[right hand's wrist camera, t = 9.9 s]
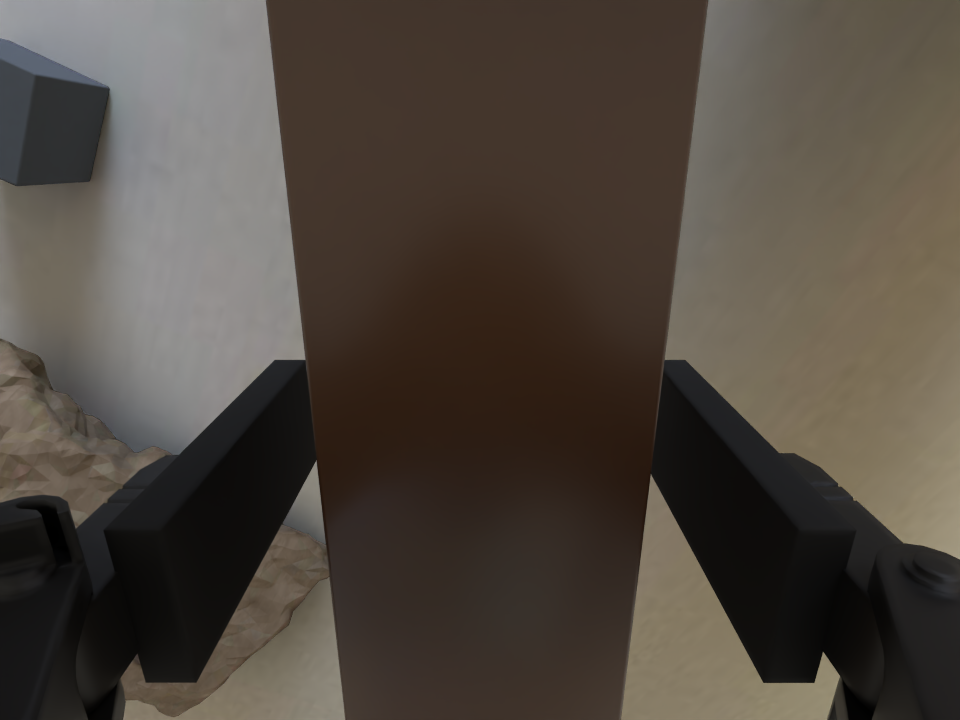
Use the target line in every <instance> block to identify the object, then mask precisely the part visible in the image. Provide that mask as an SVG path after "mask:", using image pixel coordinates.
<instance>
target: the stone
mask: <svg viewBox="0 0 960 720" xmlns="http://www.w3.org/2000/svg"><path fill="white" fill-rule="evenodd" d="M166 455H172V454H171V453H169V452H167V451H164V450H162V449H160V448H158V447H153V446H152V447H150V448H148V449H145V450H143V451H141V452H138V453H134V452H133V451H132V450H131V449H130V448H129V447H128V446H127V445H126V444H125V443H122V442H120V441H118V440H115V437H114V435H113V434H112V433H111V432H110V430H109V429H108V428H107V427H106V425H105V424H104V423H103V422H101V421H100V420H99V419H97V418H95V417H93V416H89V415H85V414H84V413H83V411H82V409H81V407H80V406H79V405H77V404H76V403H75V402H74V401H73V400H72V399H71V398H70V397H69V396H68V395H67V394H63V393H59V392H56V391H54V390H53V389H52V387H51V384H50V382H49V380H48V377H47V374H46V371H45V366H44V363H43V361H42V360H41V358H40V357H39V356H37V355H35V354H33V353H30V352H28V351H25V350H23V349H20V348H18V347H16V346H15V345H13V344H12V343H10V342H7V341H5V340H3V339H0V503H1V502H5V501H8V500H12V499H16V498H20V497H26V496H35V495H51V496H59V497H61V498H62V499H64V500H66V501H67V502H68V504H69V507H70V511H71V514H72V517H73V521H74V524H75V528H77V527H78V526H79V525H80V524H81V523H83V522H84V521H85V520H86V519H87V518H88V517H89V516H90V515H91V514H92V513H93V512H94V511H96V510H97V509H98V508H99V507H100V506H101V505H102V504H103V503H107V502H108V499H109V498H110V497H111V496H112V495H113V494H114V493H115V492H116V491H117V490H118V489H122V488H123V485H124V484H125V483H126V482H127V481H128V480H129V479H130V478H131V477H132V476H134V475H135V474H136V473H137V472H138V471H139V470H140V469H142V468H144V467H145V466H147V465H149V464H151V463H153V462H155V461H156V460H158V459H160V458H162V457H164V456H166ZM328 577H329V567H328V558H327V549H326V545H325V544H323V543H321V542H319V541H317V540H315V539H313V538H312V537H311V536H310V535H309V534H305V533H302V532H300V531H298V530H295V529H293V528H290V527H288V526H285V525H281V527H280V529H279V531H278V532H277V534H276V536H275V538H274V540H273V542H272V544H271V545H270V547H269V549H268V551H267V553H266V555H265V557H264V558H263V560H262V562H261V564H260V566H259V568H258V570H257V571H256V573H255V575H254V577H253V579H252V581H251V583H250V584H249V586H248V588H247V590H246V592H245V594H244V595H243V597H242V599H241V601H240V603H239V605H238V607H237V608H236V610H235V612H234V614H233V616H232V618H231V620H230V621H229V623H228V625H227V627H226V629H225V631H224V633H223V634H222V636H221V638H220V640H219V642H218V644H217V646H216V647H215V649H214V651H213V653H212V655H211V657H210V659H209V660H208V662H207V664H206V666H205V668H204V670H203V672H202V673H201V675H200V677H199V679H198V681H197V683H146V682H145V679H144V675H143V671H142V668H141V664H140V661H139V657H138V653H137V655H136V656H135V658H134V659H133V661H132V662H131V664H130V665H129V667H128V668H127V669H126V671H125V672H124V674H123V675H122V677H121V682H122V685H123V689H124V694H125V700H138V701H141V702H144V703H147V704H151V705H154V706H155V707H156V708H157V709H158V711H159V712H161V713H163V714H165V715H167V716H172V717H175V716H179V715H180V714H182V713H183V712H185V711H186V710H188V709H189V708H191V707H193V706H195V705H197V704H199V703H201V702H202V701H203V700H204V699H206V698H207V697H208V696H209V695H211V694H212V693H213V692H214V691H215V690H217V689H218V688H219V687H220V686H221V685H222V684H224V683H225V681H226V680H227V679H228V677H229V676H230V675H231V674H232V673H233V672H234V671H235V670H236V669H237V668H238V667H240V666H241V665H242V664H243V663H244V662H245V661H246V660H247V659H248V658H249V657H250V656H251V655H253V654H254V653H255V652H257V651H258V650H259V649H261V648H262V647H263V646H265V645H266V644H267V643H268V642H269V641H270V640H271V639H272V638H273V637H274V636H276V635H277V634H278V633H279V632H280V631H282V630H283V629H284V628H285V627H287V626H288V625H289V623H290V620H291V617H292V613H293V611H294V610H295V609H296V608H297V607H298V605H299V604H300V603H301V602H302V601H303V600H304V599H305V597H306V596H307V594H308V593H309V592H310V591H311V589H312V588H313V587H314V586H315V585H316V584H317V583H318V582H319V581H320V580H323V579H327V578H328Z"/></svg>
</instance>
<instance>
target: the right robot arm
mask: <svg viewBox="0 0 960 720" xmlns="http://www.w3.org/2000/svg"><path fill="white" fill-rule="evenodd" d="M316 460H317V458H316V449H315V440H314V431H313V422H312V413H311V404H310V395H309V386H308V377H307V368H306V360H274V361H273V362H272V363H271V364H270V365H269V366H268V367H267V368H266V369H265V370H264V371H263V372H262V373H261V374H260V375H259V376H258V377H257V378H256V379H255V380H254V381H253V382H252V383H251V384H250V385H249V386H248V387H247V388H246V389H245V390H244V391H243V392H242V393H241V394H240V395H239V396H238V397H237V398H236V399H235V400H234V401H233V402H232V403H231V404H230V405H229V406H228V407H227V408H226V409H225V410H224V411H223V412H222V413H221V414H220V415H219V416H218V417H217V418H216V419H215V420H214V421H213V422H212V423H211V424H210V425H209V426H208V427H207V428H206V429H205V430H204V431H203V432H202V433H201V434H200V435H199V436H198V437H197V438H196V439H195V440H194V441H193V442H192V443H191V444H190V445H189V446H188V447H187V448H186V449H185V450H184V451H183V452H182V453H181V454H180V455H166V456H164V457H162V458H160V459H158V460H156V461H155V462H153V463H151V464H149V465H147V466H145V467H144V468H142V469H140V470H139V471H138V472H137V473H136V474H135V475H134V476H132V477H131V478H130V479H129V480H128V481H127V482H126V483H125V484H124V485H123V488H122V489H118V490H117V491H116V492H115V493H114V494H113V495H112V496H111V497H110V498H109V499H108V502H107V503H103V504H102V505H101V506H100V507H99V508H98V509H97V510H96V511H94V512H93V513H92V514H91V515H90V516H89V517H88V518H87V519H86V520H85V521H84V522H83V523H81V524H80V525H79V526H78V527H77V528H75V524H74V521H73V517H72V514H71V511H70V507H69V504H68V502H67V501H66V500H64V499H62V498H61V497H59V496H51V495H35V496H26V497H20V498H16V499H12V500H8V501H5V502H1V503H0V720H123V717H124V710H125V703H126V701H125V694H124V689H123V685H122V682H121V677H122V675H123V674H124V672H125V671H126V669H127V668H128V667H129V665H130V664H131V662H132V661H133V659H134V658H135V656H136V655H137V653H138V657H139V661H140V664H141V668H142V671H143V675H144V679H145V682H146V683H197V681H198V679H199V677H200V675H201V673H202V672H203V670H204V668H205V666H206V664H207V662H208V660H209V659H210V657H211V655H212V653H213V651H214V649H215V647H216V646H217V644H218V642H219V640H220V638H221V636H222V634H223V633H224V631H225V629H226V627H227V625H228V623H229V621H230V620H231V618H232V616H233V614H234V612H235V610H236V608H237V607H238V605H239V603H240V601H241V599H242V597H243V595H244V594H245V592H246V590H247V588H248V586H249V584H250V583H251V581H252V579H253V577H254V575H255V573H256V571H257V570H258V568H259V566H260V564H261V562H262V560H263V558H264V557H265V555H266V553H267V551H268V549H269V547H270V545H271V544H272V542H273V540H274V538H275V536H276V534H277V532H278V531H279V529H280V527H281V525H282V523H283V521H284V519H285V518H286V516H287V514H288V512H289V510H290V508H291V506H292V505H293V503H294V501H295V499H296V497H297V495H298V493H299V492H300V490H301V488H302V486H303V484H304V482H305V480H306V479H307V477H308V475H309V473H310V471H311V469H312V467H313V466H314V464H315V462H316ZM651 475H652V477H653V479H654V480H655V482H656V484H657V486H658V488H659V490H660V492H661V493H662V495H663V497H664V499H665V501H666V503H667V505H668V506H669V508H670V510H671V512H672V514H673V516H674V518H675V519H676V521H677V523H678V525H679V527H680V529H681V531H682V532H683V534H684V536H685V538H686V540H687V542H688V544H689V545H690V547H691V549H692V551H693V553H694V555H695V557H696V558H697V560H698V562H699V564H700V566H701V568H702V569H703V571H704V573H705V575H706V577H707V579H708V581H709V582H710V584H711V586H712V588H713V590H714V592H715V594H716V595H717V597H718V599H719V601H720V603H721V605H722V607H723V608H724V610H725V612H726V614H727V616H728V618H729V620H730V621H731V623H732V625H733V627H734V629H735V631H736V633H737V634H738V636H739V638H740V640H741V642H742V644H743V646H744V647H745V649H746V651H747V653H748V655H749V657H750V659H751V660H752V662H753V664H754V666H755V668H756V670H757V672H758V673H759V675H760V677H761V679H762V681H763V683H814V682H815V679H816V675H817V671H818V668H819V664H820V661H821V657H822V653H823V652H824V653H825V655H826V656H827V658H828V659H829V661H830V662H831V663H832V665H833V666H834V668H835V669H836V671H837V672H838V674H839V675H840V678H839V682H838V685H837V689H836V692H835V695H834V699H833V702H832V705H831V709H830V712H829V715H828V719H827V720H960V560H959V559H957V558H955V557H953V556H951V555H949V554H947V553H944V552H941V551H938V550H935V549H931V548H928V547H925V546H920V545H913V544H905V543H902V542H901V541H900V540H899V539H898V538H897V537H896V536H895V535H894V534H893V533H891V532H890V531H889V530H888V529H887V528H886V527H885V526H884V525H883V524H882V523H881V522H879V521H878V520H877V519H876V518H875V517H874V516H873V515H872V514H871V513H870V512H868V511H867V510H866V509H865V508H864V507H863V506H862V505H861V504H860V503H859V502H858V501H853V497H852V496H851V495H850V494H849V493H848V492H847V491H846V490H844V489H843V488H842V487H838V483H837V482H836V481H835V480H833V479H832V478H831V477H830V476H829V475H828V474H827V473H826V472H825V471H824V470H823V469H821V468H820V467H819V466H817V465H815V464H813V463H811V462H809V461H808V460H806V459H804V458H802V457H800V456H798V455H796V454H795V453H778V452H777V451H776V450H775V449H774V448H773V447H772V446H771V445H770V444H769V443H768V442H767V441H766V440H765V439H764V438H763V437H762V436H761V435H760V434H759V433H758V432H757V431H756V430H755V429H754V428H753V427H752V426H751V425H750V424H749V423H748V422H747V421H746V420H745V419H744V418H743V417H742V416H741V415H740V414H739V413H738V412H737V411H736V410H735V409H734V408H733V407H732V406H731V405H730V404H729V403H728V402H727V401H726V400H725V399H724V398H723V397H722V396H721V395H720V394H719V393H718V392H717V391H716V390H715V389H714V388H713V387H712V386H711V385H710V384H709V383H708V382H707V381H706V380H705V379H704V378H703V377H702V376H701V375H700V374H699V373H698V372H697V371H696V370H695V369H694V368H693V367H692V366H691V365H690V364H689V363H688V362H687V361H686V360H664V369H663V377H662V385H661V393H660V402H659V410H658V418H657V426H656V434H655V443H654V451H653V459H652V467H651Z"/></svg>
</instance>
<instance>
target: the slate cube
mask: <svg viewBox="0 0 960 720" xmlns="http://www.w3.org/2000/svg"><path fill="white" fill-rule="evenodd" d="M108 94H109V87H107V86H105V85H103V84H101V83H99V82H97V81H94V80H92V79H90V78H88V77H86V76H84V75H82V74H79V73H77V72H75V71H73V70H71V69H69V68H67V67H64V66H62V65H60V64H58V63H56V62H54V61H52V60H49V59H47V58H45V57H43V56H41V55H39V54H37V53H34V52H32V51H30V50H28V49H26V48H24V47H22V46H19V45H17V44H15V43H13V42H11V41H8V40H4V39H0V179H1V180H4V181H6V182H8V183H11V184H13V185H15V186H27V185H43V184H58V183H74V182H89V181H90V177H91V173H92V168H93V163H94V159H95V154H96V150H97V145H98V140H99V136H100V131H101V126H102V122H103V117H104V112H105V108H106V103H107V98H108Z"/></svg>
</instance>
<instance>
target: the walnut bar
mask: <svg viewBox="0 0 960 720" xmlns="http://www.w3.org/2000/svg"><path fill="white" fill-rule="evenodd" d="M266 7H267V16H268V25H269V34H270V43H271V52H272V61H273V70H274V79H275V88H276V97H277V106H278V115H279V124H280V133H281V142H282V151H283V160H284V169H285V178H286V187H287V196H288V205H289V214H290V224H291V233H292V242H293V251H294V260H295V269H296V278H297V287H298V296H299V305H300V314H301V323H302V332H303V341H304V350H305V359H306V368H307V377H308V386H309V395H310V404H311V413H312V422H313V431H314V440H315V449H316V458H317V467H318V476H319V486H320V495H321V504H322V513H323V522H324V531H325V540H326V549H327V558H328V567H329V576H330V585H331V594H332V603H333V612H334V621H335V630H336V639H337V648H338V657H339V666H340V675H341V684H342V693H343V702H344V711H345V720H621V714H622V706H623V698H624V690H625V681H626V673H627V665H628V657H629V648H630V640H631V632H632V624H633V615H634V607H635V599H636V591H637V583H638V574H639V566H640V558H641V550H642V541H643V533H644V525H645V517H646V509H647V500H648V492H649V484H650V476H651V467H652V459H653V451H654V443H655V434H656V426H657V418H658V410H659V402H660V393H661V385H662V377H663V369H664V360H665V352H666V344H667V336H668V327H669V319H670V311H671V303H672V295H673V286H674V278H675V270H676V262H677V253H678V245H679V237H680V229H681V221H682V212H683V204H684V196H685V188H686V179H687V171H688V163H689V155H690V146H691V138H692V130H693V122H694V114H695V105H696V97H697V89H698V81H699V72H700V64H701V56H702V48H703V40H704V31H705V23H706V15H707V7H708V0H266Z"/></svg>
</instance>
